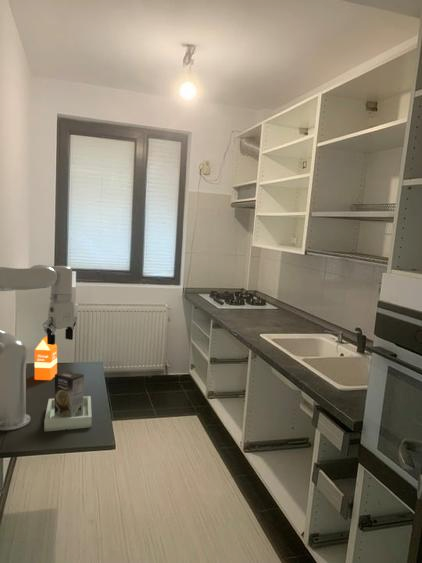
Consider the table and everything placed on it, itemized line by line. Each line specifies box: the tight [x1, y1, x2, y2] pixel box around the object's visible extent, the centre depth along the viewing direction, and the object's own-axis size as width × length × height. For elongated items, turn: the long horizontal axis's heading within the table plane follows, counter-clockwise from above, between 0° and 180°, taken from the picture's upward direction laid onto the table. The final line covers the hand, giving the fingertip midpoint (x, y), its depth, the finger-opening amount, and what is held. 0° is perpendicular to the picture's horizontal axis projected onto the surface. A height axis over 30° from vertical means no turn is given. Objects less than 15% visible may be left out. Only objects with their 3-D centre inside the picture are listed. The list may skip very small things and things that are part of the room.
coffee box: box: [54, 370, 85, 418], centre depth 155 cm, size 9×6×16 cm
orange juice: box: [34, 336, 58, 381], centre depth 197 cm, size 8×9×20 cm
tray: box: [43, 395, 93, 432], centre depth 155 cm, size 20×16×4 cm
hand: (60, 341), depth 157 cm, fingers open, 9 cm apart
